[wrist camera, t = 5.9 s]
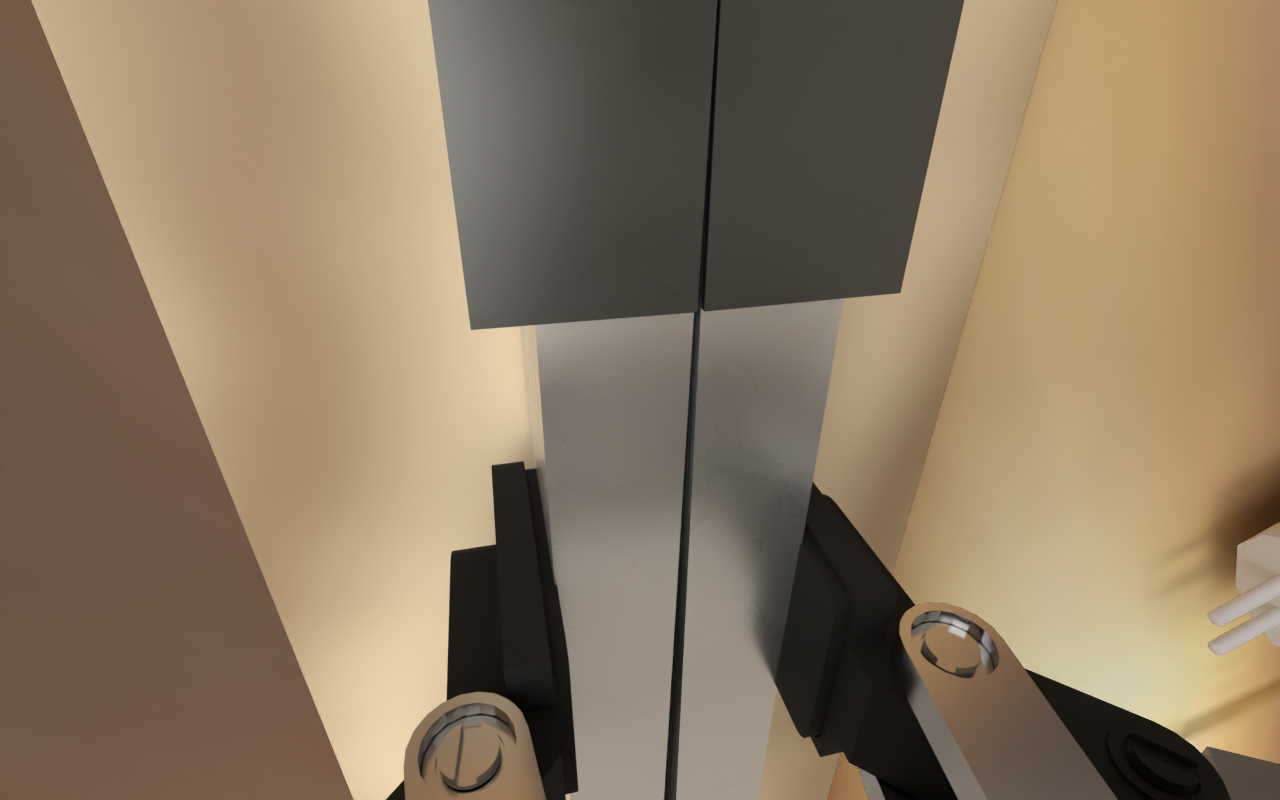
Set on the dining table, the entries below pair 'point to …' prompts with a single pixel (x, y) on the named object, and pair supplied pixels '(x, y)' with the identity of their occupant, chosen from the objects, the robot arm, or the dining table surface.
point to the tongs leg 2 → (783, 327)
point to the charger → (1252, 594)
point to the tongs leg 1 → (592, 314)
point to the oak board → (437, 318)
